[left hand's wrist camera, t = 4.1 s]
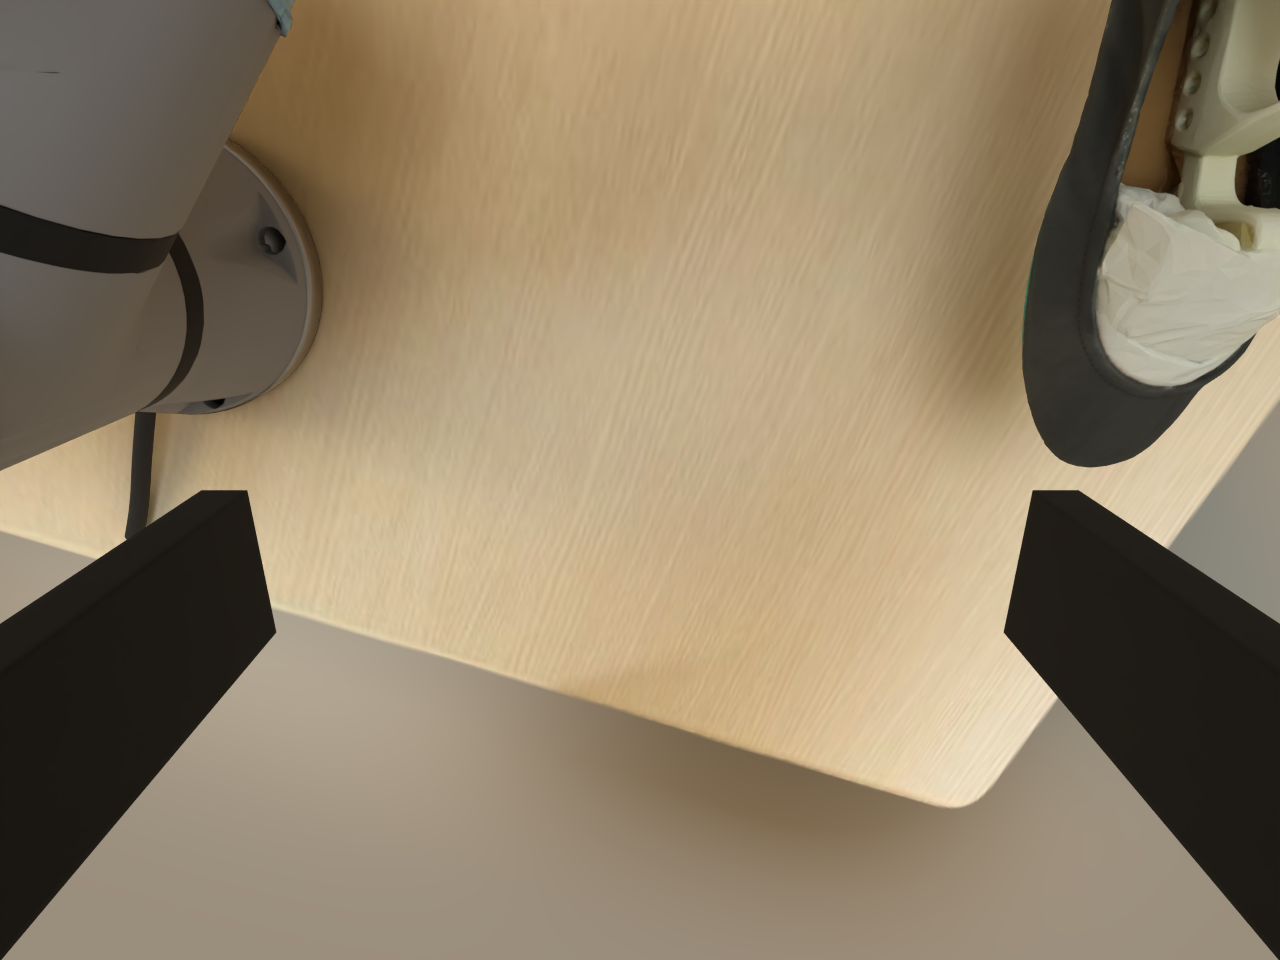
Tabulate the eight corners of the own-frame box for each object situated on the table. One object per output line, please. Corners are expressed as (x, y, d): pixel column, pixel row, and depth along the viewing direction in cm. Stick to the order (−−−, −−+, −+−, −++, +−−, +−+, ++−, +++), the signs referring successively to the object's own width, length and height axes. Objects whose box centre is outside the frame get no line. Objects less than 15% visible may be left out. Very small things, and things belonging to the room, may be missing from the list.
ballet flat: (974, 458, 33) (1076, 538, 25) (1076, -228, 24) (1278, -421, 17) (1157, 453, 33) (1314, 532, 25) (1325, -235, 24) (1642, -432, 17)
